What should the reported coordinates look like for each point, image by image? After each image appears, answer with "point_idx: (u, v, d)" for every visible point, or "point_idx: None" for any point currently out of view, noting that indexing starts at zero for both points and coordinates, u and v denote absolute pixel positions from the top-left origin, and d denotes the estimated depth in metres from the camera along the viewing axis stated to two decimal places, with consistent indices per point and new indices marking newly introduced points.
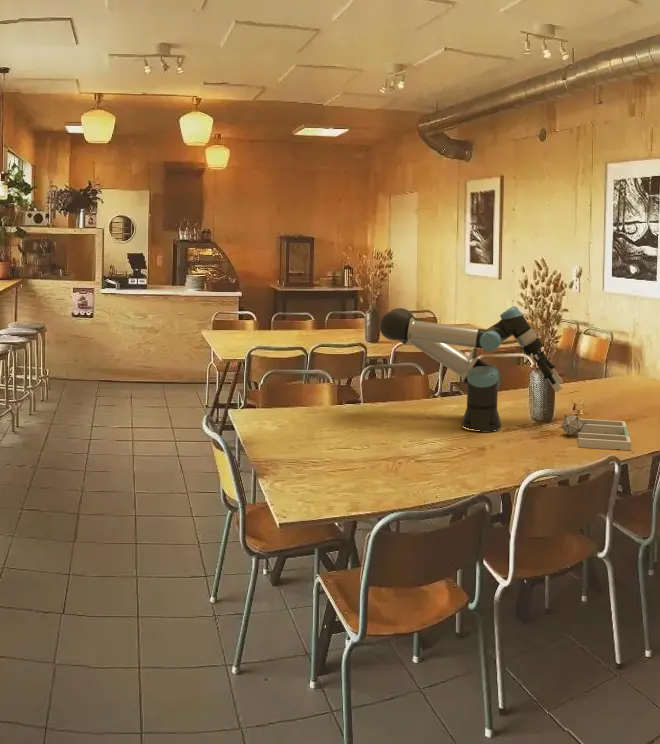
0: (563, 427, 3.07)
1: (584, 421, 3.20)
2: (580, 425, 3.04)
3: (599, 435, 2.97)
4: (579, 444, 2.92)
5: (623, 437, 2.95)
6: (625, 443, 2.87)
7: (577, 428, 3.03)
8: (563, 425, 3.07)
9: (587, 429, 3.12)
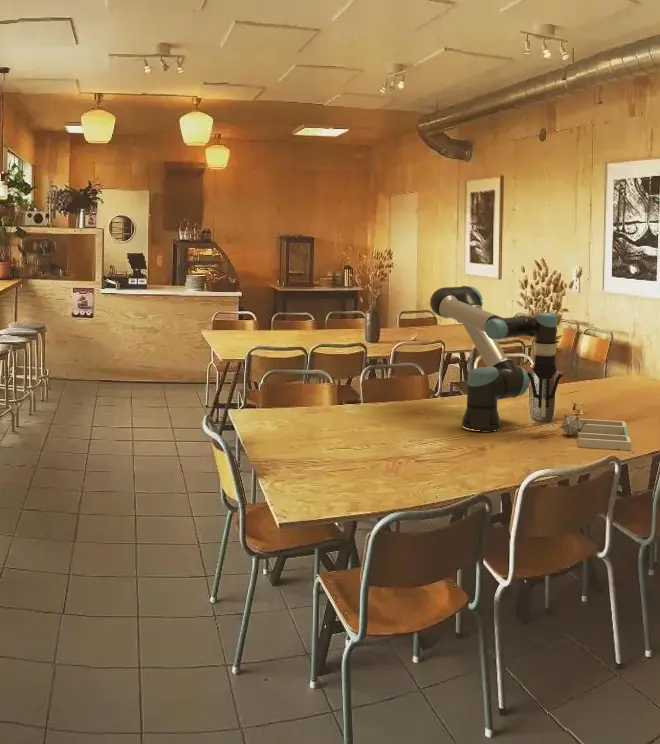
0: (563, 427, 3.07)
1: (584, 421, 3.20)
2: (580, 425, 3.04)
3: (599, 435, 2.97)
4: (579, 444, 2.92)
5: (623, 437, 2.95)
6: (625, 443, 2.87)
7: (577, 428, 3.03)
8: (563, 425, 3.07)
9: (587, 429, 3.12)
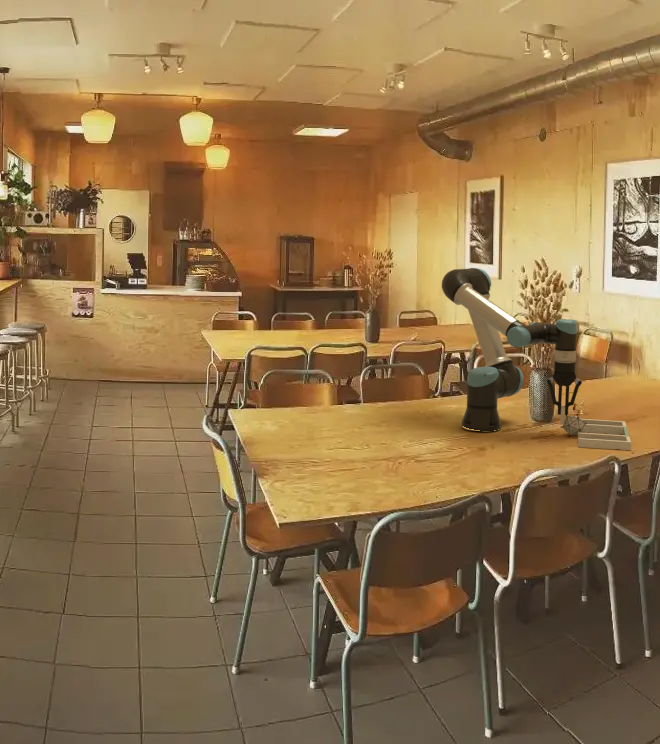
0: (564, 427, 3.06)
1: (584, 421, 3.20)
2: (581, 425, 3.04)
3: (599, 435, 2.97)
4: (579, 444, 2.92)
5: (623, 437, 2.95)
6: (625, 443, 2.87)
7: (578, 428, 3.03)
8: (564, 425, 3.07)
9: (587, 429, 3.12)
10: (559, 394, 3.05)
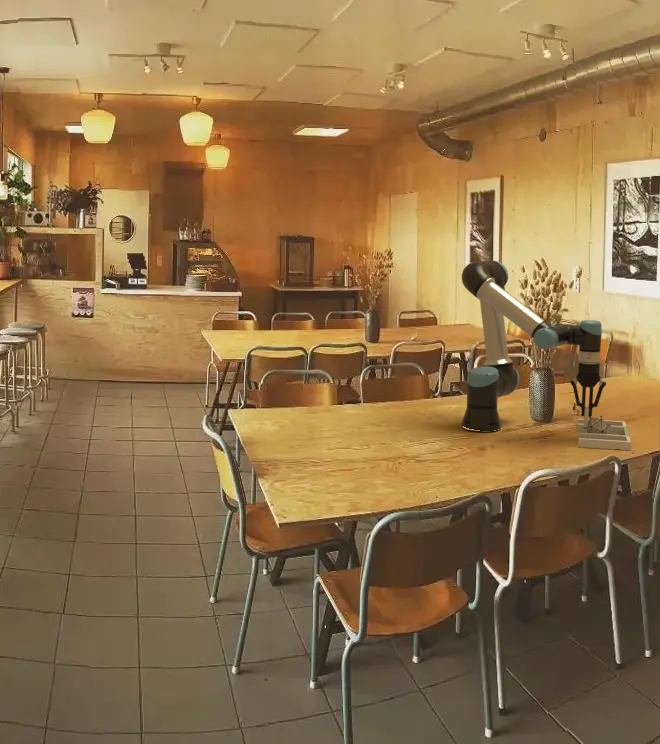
0: (587, 428, 3.04)
1: None
2: (604, 427, 3.02)
3: (599, 435, 2.97)
4: (579, 444, 2.92)
5: (623, 437, 2.95)
6: (625, 443, 2.87)
7: (601, 430, 3.01)
8: (587, 426, 3.05)
9: None
10: (583, 395, 3.03)
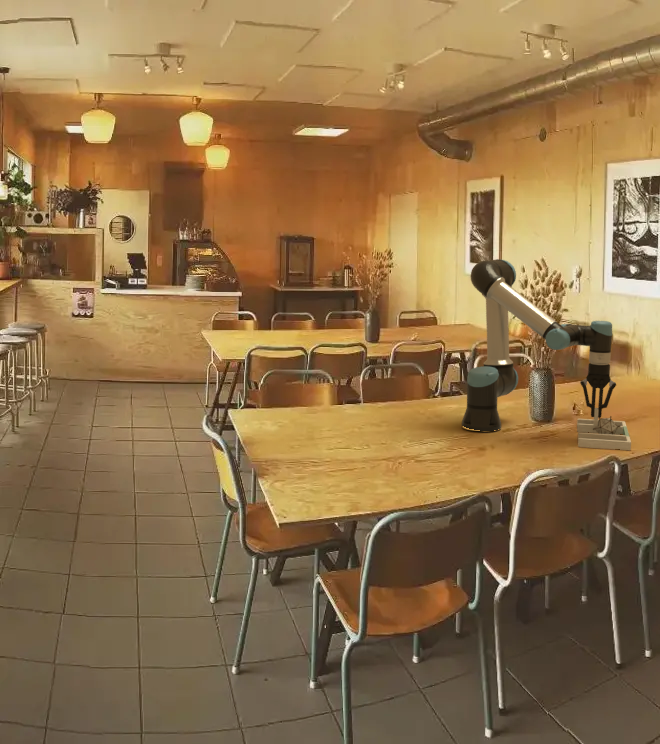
0: (596, 429, 3.04)
1: (584, 421, 3.20)
2: (614, 427, 3.01)
3: (599, 435, 2.97)
4: (579, 444, 2.92)
5: (623, 437, 2.95)
6: (625, 443, 2.87)
7: (610, 430, 3.00)
8: (596, 427, 3.04)
9: (587, 429, 3.12)
10: (593, 396, 3.02)
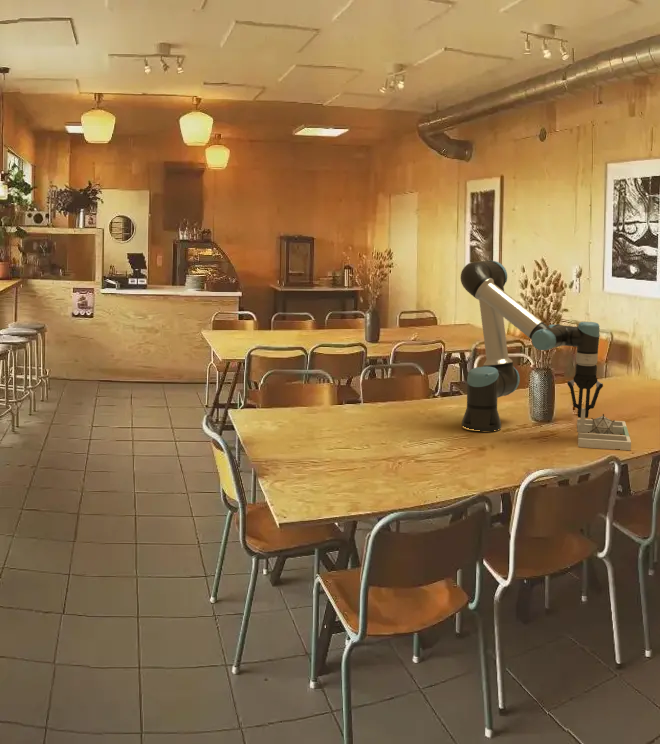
0: (593, 430, 3.04)
1: None
2: (609, 423, 3.01)
3: (599, 435, 2.97)
4: (579, 444, 2.92)
5: (623, 437, 2.95)
6: (625, 443, 2.87)
7: (607, 427, 3.00)
8: (592, 428, 3.04)
9: (587, 429, 3.12)
10: (580, 397, 3.03)
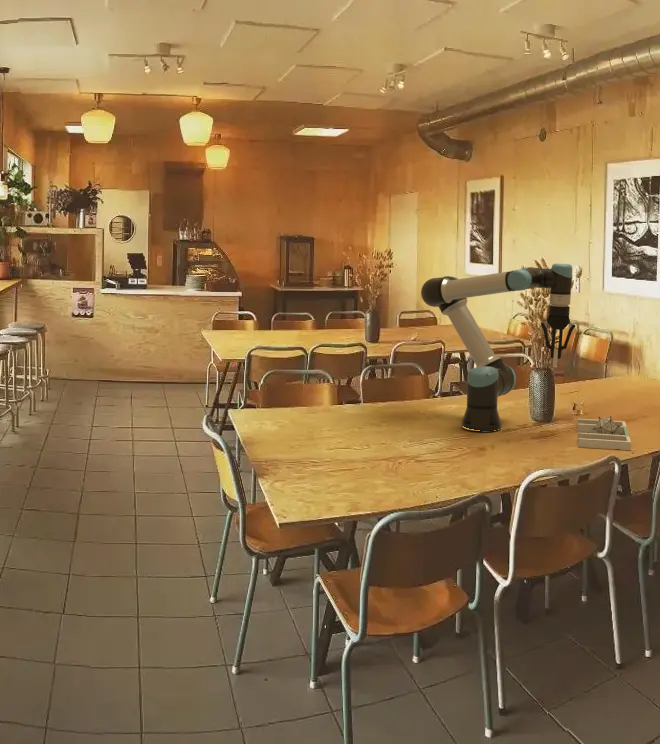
0: (596, 429, 3.03)
1: (584, 421, 3.20)
2: (614, 427, 3.01)
3: (599, 435, 2.97)
4: (579, 444, 2.92)
5: (623, 437, 2.95)
6: (625, 443, 2.87)
7: (610, 430, 3.00)
8: (596, 427, 3.04)
9: (587, 429, 3.12)
10: (552, 338, 3.09)
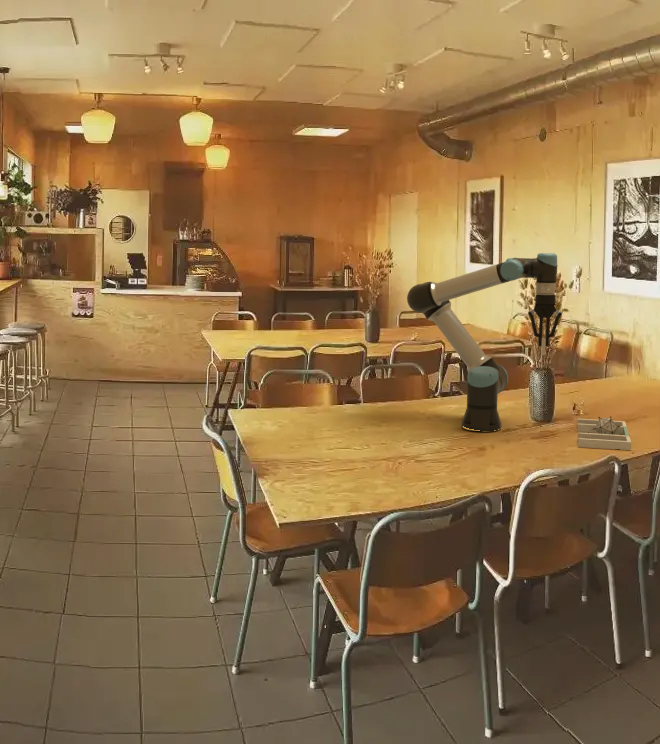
0: (596, 429, 3.03)
1: (584, 421, 3.20)
2: (614, 427, 3.01)
3: (599, 435, 2.97)
4: (579, 444, 2.92)
5: (623, 437, 2.95)
6: (625, 443, 2.87)
7: (610, 430, 3.00)
8: (596, 427, 3.04)
9: (587, 429, 3.12)
10: (540, 326, 3.15)
